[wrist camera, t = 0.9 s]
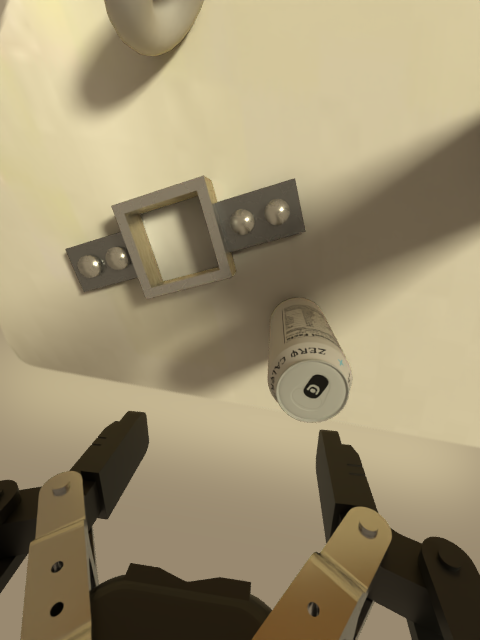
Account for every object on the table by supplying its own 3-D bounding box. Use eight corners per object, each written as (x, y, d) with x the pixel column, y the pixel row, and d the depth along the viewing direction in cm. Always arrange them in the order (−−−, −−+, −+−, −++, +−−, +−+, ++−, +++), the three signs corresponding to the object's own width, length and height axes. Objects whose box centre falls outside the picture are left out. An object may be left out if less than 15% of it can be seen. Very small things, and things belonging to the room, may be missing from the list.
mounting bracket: (288, 155, 29) (290, 146, 25) (308, 252, 31) (312, 256, 28) (65, 227, 33) (42, 228, 30) (99, 307, 36) (81, 315, 33)
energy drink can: (260, 329, 35) (251, 404, 21) (287, 285, 33) (296, 335, 19) (305, 353, 35) (325, 443, 21) (333, 311, 33) (378, 379, 19)
